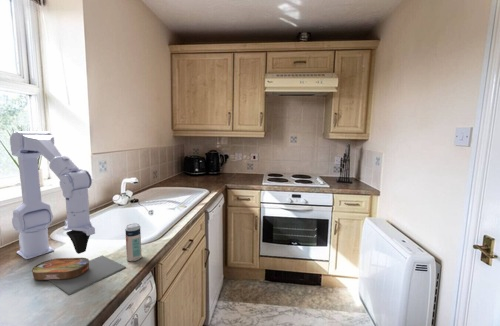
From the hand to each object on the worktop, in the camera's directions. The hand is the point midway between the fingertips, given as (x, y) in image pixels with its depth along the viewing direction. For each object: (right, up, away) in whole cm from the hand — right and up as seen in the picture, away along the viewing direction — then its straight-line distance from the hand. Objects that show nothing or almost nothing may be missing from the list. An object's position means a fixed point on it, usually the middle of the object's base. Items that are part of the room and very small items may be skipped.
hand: (81, 252), depth 76 cm
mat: (+3, -6, -1) cm, 7 cm away
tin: (-5, -4, +3) cm, 7 cm away
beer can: (+13, -5, +8) cm, 16 cm away
